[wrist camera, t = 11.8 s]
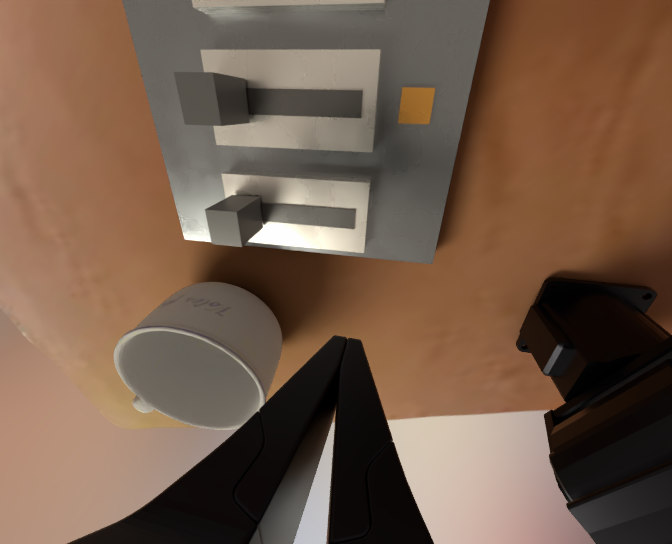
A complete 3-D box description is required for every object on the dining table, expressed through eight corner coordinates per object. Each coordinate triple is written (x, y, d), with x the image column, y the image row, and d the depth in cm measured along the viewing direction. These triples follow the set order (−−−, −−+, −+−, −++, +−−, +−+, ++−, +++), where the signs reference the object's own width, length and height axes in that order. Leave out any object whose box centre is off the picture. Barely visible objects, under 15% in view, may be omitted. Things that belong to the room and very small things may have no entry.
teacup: (253, 248, 23) (192, 309, 16) (316, 346, 27) (290, 429, 20) (140, 296, 28) (56, 358, 21) (208, 373, 32) (157, 446, 25)
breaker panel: (515, -157, 11) (545, -222, 9) (429, 254, 20) (434, 272, 18) (113, -119, 14) (60, -163, 12) (196, 231, 23) (175, 245, 21)
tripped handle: (244, 78, 15) (212, 72, 12) (249, 123, 16) (221, 126, 13) (212, 78, 15) (173, 71, 12) (219, 121, 16) (184, 124, 13)
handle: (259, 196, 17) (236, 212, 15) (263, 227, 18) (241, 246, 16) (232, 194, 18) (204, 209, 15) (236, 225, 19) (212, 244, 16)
